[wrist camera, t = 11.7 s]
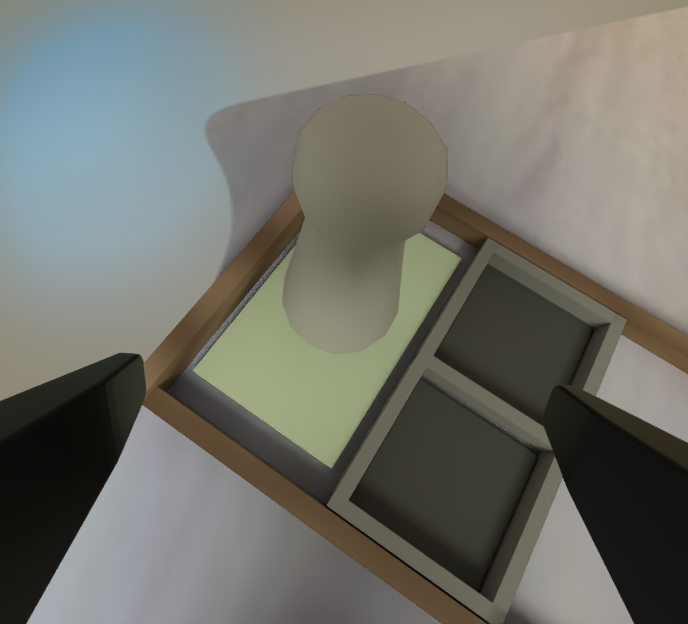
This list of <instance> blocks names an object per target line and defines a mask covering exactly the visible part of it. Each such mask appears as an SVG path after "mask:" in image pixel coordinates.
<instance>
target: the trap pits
mask: <svg viewBox="0 0 688 624" xmlns="http://www.w3.org/2000/svg"><path fill="white" fill-rule="evenodd" d="M484 268H485V269H484ZM477 280H478V281H477ZM474 285H475V286H474ZM467 297H468V298H467ZM464 302H465V303H464ZM457 314H458V315H457ZM626 321H627V319H625V318H623V317H622V316H620V315H618V314H616V313H615V312H613V311H611V310H610V309H608V308H606V307H605V306H603V305H601V304H600V303H598V302H596V301H595V300H593V299H591V298H590V297H588V296H586V295H584V294H583V293H581V292H579V291H578V290H576V289H574V288H573V287H571V286H569V285H568V284H566V283H564V282H563V281H561V280H559V279H557V278H556V277H554V276H552V275H551V274H549V273H547V272H546V271H544V270H542V269H541V268H539V267H537V266H536V265H534V264H532V263H531V262H529V261H527V260H525V259H524V258H522V257H520V256H519V255H517V254H515V253H514V252H512V251H510V250H509V249H507V248H505V247H504V246H502V245H500V244H498V243H497V242H495V241H493V240H492V239H490V238H488V239H487V240H486V241H485V242H484V243H483V245H482V246H481V247H480V248H479V250H478V251H477V253H476V254H475V256H474V258H473V259H472V261H471V263H470V264H469V266H468V268H467V269H466V271H465V272H464V274H463V276H462V277H461V279H460V281H459V282H458V284H457V286H456V287H455V289H454V291H453V292H452V294H451V296H450V297H449V299H448V300H447V302H446V304H445V305H444V307H443V309H442V310H441V312H440V314H439V315H438V317H437V319H436V320H435V322H434V324H433V325H432V327H431V329H430V330H429V332H428V333H427V335H426V337H425V338H424V340H423V342H422V343H421V345H420V347H419V348H418V350H417V352H416V353H415V355H414V357H413V358H412V360H411V361H410V363H409V365H408V366H407V368H406V370H405V371H404V373H403V375H402V376H401V378H400V380H399V381H398V383H397V385H396V386H395V388H394V389H393V391H392V393H391V394H390V396H389V398H388V399H387V401H386V403H385V404H384V406H383V408H382V409H381V411H380V413H379V414H378V416H377V417H376V419H375V421H374V422H373V424H372V426H371V427H370V429H369V431H368V432H367V434H366V436H365V437H364V439H363V441H362V442H361V444H360V446H359V447H358V449H357V450H356V452H355V454H354V455H353V457H352V459H351V460H350V462H349V464H348V465H347V467H346V469H345V470H344V472H343V474H342V475H341V477H340V478H339V480H338V482H337V483H336V485H335V487H334V488H333V490H332V492H331V493H330V495H329V497H328V498H327V500H326V502H325V503H326V505H327V506H328V507H329V508H331V509H332V510H334V511H335V512H336V513H338V514H339V515H340V516H342V517H343V518H345V519H346V520H347V521H349V522H350V523H352V524H353V525H354V526H356V527H357V528H359V529H360V530H361V531H363V532H364V533H366V534H367V535H368V536H370V537H371V538H372V539H374V540H375V541H377V542H378V543H379V544H381V545H382V546H384V547H385V548H386V549H388V550H389V551H391V552H392V553H393V554H395V555H396V556H398V557H399V558H400V559H402V560H403V561H404V562H406V563H407V564H409V565H410V566H411V567H413V568H414V569H416V570H417V571H418V572H420V573H421V574H423V575H424V576H425V577H427V578H428V579H429V580H431V581H432V582H434V583H435V584H436V585H438V586H439V587H441V588H442V589H443V590H445V591H446V592H448V593H449V594H450V595H452V596H453V597H455V598H456V599H457V600H459V601H460V602H461V603H463V604H464V605H466V606H467V607H468V608H470V609H471V610H473V611H474V612H475V613H477V614H478V615H480V616H481V617H482V618H484V619H485V620H487V621H488V622H489V623H491V624H503V623H504V620H505V618H506V615H507V613H508V610H509V608H510V606H511V603H512V601H513V598H514V596H515V593H516V591H517V588H518V586H519V583H520V581H521V579H522V576H523V574H524V571H525V569H526V566H527V564H528V561H529V559H530V556H531V554H532V552H533V549H534V547H535V544H536V542H537V539H538V537H539V534H540V532H541V529H542V527H543V524H544V522H545V520H546V517H547V515H548V512H549V510H550V507H551V505H552V502H553V500H554V497H555V495H556V493H557V490H558V488H559V485H560V483H561V480H562V478H563V477H562V474H561V471H560V469H559V466H558V463H557V461H556V458H555V455H554V453H553V450H552V447H551V445H550V442H549V439H548V437H547V434H546V431H545V429H544V426H543V421H542V418H543V413H544V410H545V407H546V405H547V402H548V399H549V397H550V394H551V391H552V389H553V388H554V387H555V386H557V385H569V382H570V380H571V378H572V375H573V373H574V371H575V369H576V366H577V364H578V362H579V359H580V357H581V355H582V353H583V350H584V348H585V346H586V344H587V341H588V339H589V337H590V334H591V332H592V330H593V333H592V335H591V337H590V339H589V342H588V344H587V346H586V349H585V351H584V353H583V355H582V358H581V360H580V362H579V365H578V367H577V369H576V371H575V374H574V376H573V378H572V381H571V383H570V386H576V387H578V388H580V389H582V390H584V391H586V392H588V393H590V394H592V395H594V396H596V394H597V392H598V389H599V387H600V384H601V382H602V380H603V377H604V375H605V372H606V370H607V367H608V365H609V362H610V360H611V357H612V355H613V353H614V350H615V348H616V345H617V343H618V340H619V338H620V335H621V333H622V330H623V328H624V325H625V323H626ZM450 326H451V327H450ZM447 331H448V332H447ZM440 343H441V344H440ZM437 348H438V349H437ZM422 375H423V376H425V377H426V378H428V379H429V380H431V381H432V382H434V383H435V384H437V385H438V386H440V387H442V388H443V389H445V390H446V391H448V392H449V393H451V394H452V395H454V396H455V397H457V398H458V399H460V400H461V401H463V402H465V403H466V404H468V405H469V406H471V407H472V408H474V409H475V410H477V411H478V412H480V413H481V414H483V415H484V416H486V417H488V418H489V419H491V420H492V421H494V422H495V423H497V424H498V425H500V426H501V427H503V428H504V429H506V430H507V431H509V432H511V433H512V434H514V435H515V436H517V437H518V438H520V439H521V440H523V441H524V442H526V443H527V444H529V445H530V446H532V447H534V448H535V449H537V450H538V451H540V454H539V456H538V458H537V455H536V454H534V453H533V452H531V451H530V450H528V449H527V448H525V447H523V446H522V445H520V444H519V443H517V442H516V441H514V440H513V439H511V438H510V437H508V436H507V435H505V434H504V433H502V432H501V431H499V430H497V429H496V428H494V427H493V426H491V425H490V424H488V423H487V422H485V421H484V420H482V419H481V418H479V417H478V416H476V415H475V414H473V413H472V412H470V411H468V410H467V409H465V408H464V407H462V406H461V405H459V404H458V403H456V402H455V401H453V400H452V399H450V398H449V397H447V396H446V395H444V394H442V393H441V392H439V391H438V390H436V389H435V388H433V387H432V386H430V385H429V384H427V383H426V382H424V381H423V380H421V379H420V377H421V376H422ZM419 379H420V380H419ZM417 382H418V383H417ZM413 389H414V390H413ZM410 394H411V395H410ZM403 406H404V407H403ZM400 411H401V412H400ZM393 423H394V424H393ZM390 428H391V429H390ZM386 435H387V436H386ZM383 440H384V441H383ZM380 445H381V446H380ZM376 452H377V453H376ZM373 457H374V458H373ZM536 458H537V461H536V463H535V465H534V468H533V470H532V472H531V474H530V471H531V469H532V467H533V464H534V462H535V460H536ZM366 469H367V470H366ZM363 474H364V475H363ZM529 474H530V477H529V479H528V481H527V484H526V486H525V488H524V490H523V487H524V485H525V483H526V480H527V478H528V476H529ZM356 486H357V487H356ZM522 490H523V493H522V495H521V497H520V500H519V502H518V504H517V506H516V509H515V511H514V513H513V516H512V518H511V520H510V522H509V525H508V527H507V529H506V532H505V534H504V536H503V538H502V541H501V543H500V545H499V548H498V550H497V552H496V554H495V557H494V559H493V561H492V564H491V566H490V568H489V570H488V573H487V575H486V577H485V580H484V582H483V584H482V587H481V589H480V591H479V592H478V590H479V588H480V585H481V583H482V581H483V578H484V576H485V574H486V572H487V569H488V567H489V565H490V563H491V560H492V558H493V556H494V553H495V551H496V549H497V547H498V544H499V542H500V540H501V537H502V535H503V533H504V531H505V528H506V526H507V524H508V521H509V519H510V517H511V515H512V512H513V510H514V508H515V505H516V503H517V501H518V499H519V496H520V494H521V492H522ZM353 491H354V492H353ZM349 498H350V499H349Z"/></svg>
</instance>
